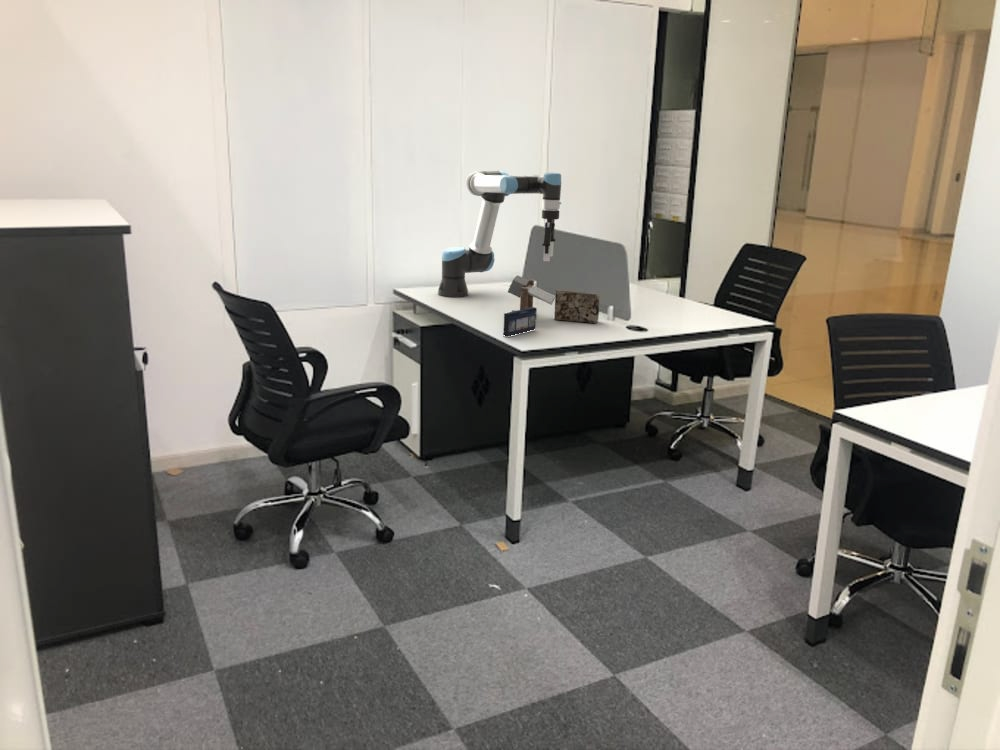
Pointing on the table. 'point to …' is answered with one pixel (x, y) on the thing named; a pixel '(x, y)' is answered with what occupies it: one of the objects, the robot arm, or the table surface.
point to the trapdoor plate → (529, 290)
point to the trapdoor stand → (526, 297)
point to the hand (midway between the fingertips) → (548, 258)
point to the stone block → (577, 306)
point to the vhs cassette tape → (519, 321)
